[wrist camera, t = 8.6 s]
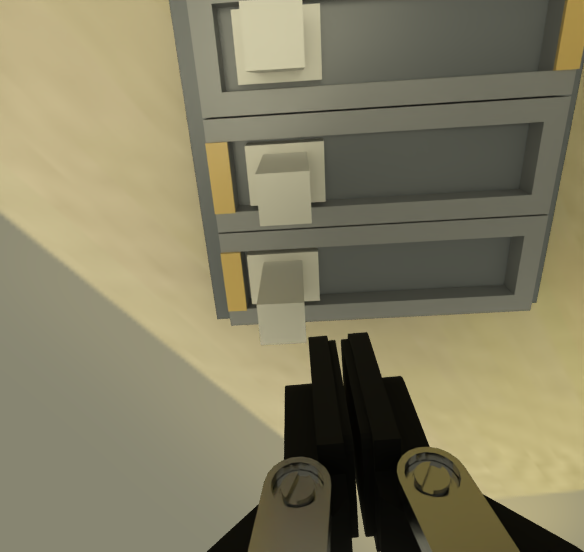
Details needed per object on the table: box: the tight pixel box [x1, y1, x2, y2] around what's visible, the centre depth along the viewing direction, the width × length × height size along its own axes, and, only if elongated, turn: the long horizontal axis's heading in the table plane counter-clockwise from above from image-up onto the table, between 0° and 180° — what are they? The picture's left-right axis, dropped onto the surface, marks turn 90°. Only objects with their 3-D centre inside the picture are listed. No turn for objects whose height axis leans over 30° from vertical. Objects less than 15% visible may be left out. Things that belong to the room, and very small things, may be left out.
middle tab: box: [245, 138, 326, 226], centre depth 23 cm, size 4×3×7 cm
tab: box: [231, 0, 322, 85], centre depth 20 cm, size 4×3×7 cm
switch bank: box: [169, 0, 584, 326], centre depth 25 cm, size 22×20×3 cm
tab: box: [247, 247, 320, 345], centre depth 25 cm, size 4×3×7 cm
